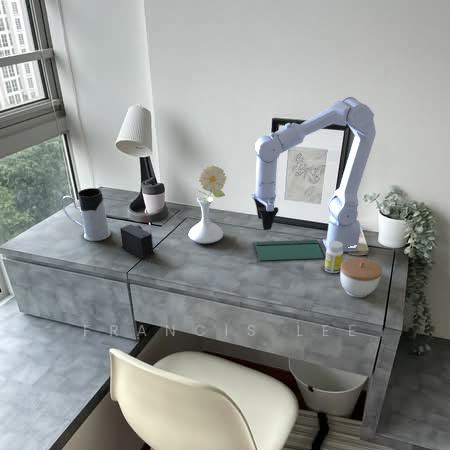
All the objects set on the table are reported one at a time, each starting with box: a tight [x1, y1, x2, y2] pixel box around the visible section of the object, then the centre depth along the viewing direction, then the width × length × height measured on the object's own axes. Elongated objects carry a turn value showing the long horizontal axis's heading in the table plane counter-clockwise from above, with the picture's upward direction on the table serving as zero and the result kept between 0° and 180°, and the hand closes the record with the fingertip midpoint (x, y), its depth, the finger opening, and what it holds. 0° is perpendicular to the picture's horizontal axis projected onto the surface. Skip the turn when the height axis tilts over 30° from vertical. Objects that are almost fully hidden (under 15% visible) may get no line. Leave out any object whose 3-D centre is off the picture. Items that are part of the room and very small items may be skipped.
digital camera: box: [120, 223, 154, 259], centre depth 152 cm, size 10×5×7 cm, turn 47°
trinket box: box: [339, 256, 383, 298], centre depth 130 cm, size 11×11×9 cm
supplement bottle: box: [324, 241, 344, 274], centre depth 140 cm, size 5×5×8 cm
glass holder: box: [60, 187, 111, 242], centre depth 158 cm, size 9×14×15 cm, turn 89°
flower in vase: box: [188, 165, 228, 244], centre depth 152 cm, size 13×11×25 cm
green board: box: [254, 239, 325, 262], centre depth 152 cm, size 20×12×1 cm, turn 93°
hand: (264, 223), depth 146 cm, fingers open, 7 cm apart
